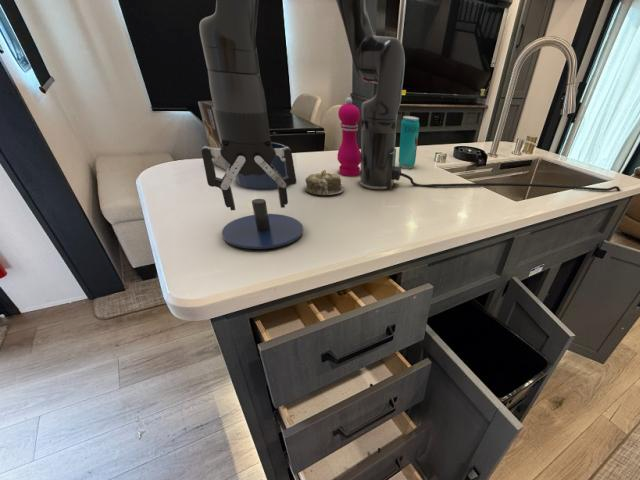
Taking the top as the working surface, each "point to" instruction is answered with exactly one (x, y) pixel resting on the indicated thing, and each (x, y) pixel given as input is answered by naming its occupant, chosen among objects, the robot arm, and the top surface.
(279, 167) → the tin
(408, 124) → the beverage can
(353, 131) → the pepper mill
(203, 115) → the coffee box
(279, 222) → the lid
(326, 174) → the cake
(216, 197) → the top surface
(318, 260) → the top surface
